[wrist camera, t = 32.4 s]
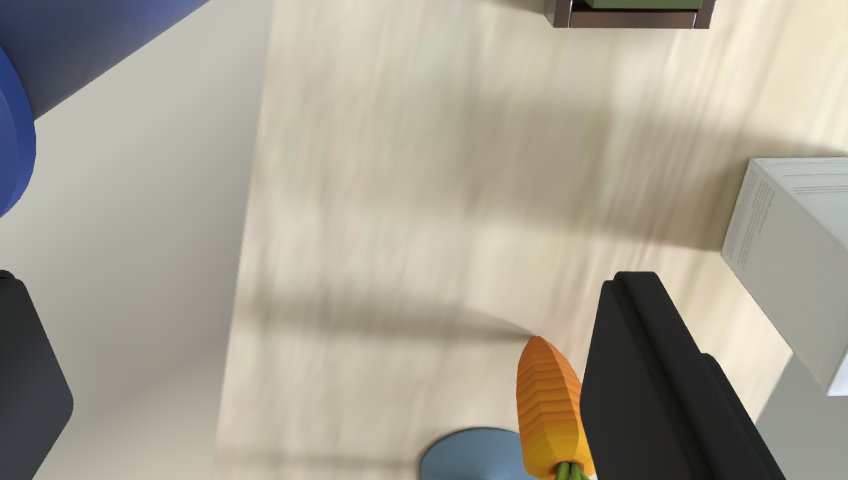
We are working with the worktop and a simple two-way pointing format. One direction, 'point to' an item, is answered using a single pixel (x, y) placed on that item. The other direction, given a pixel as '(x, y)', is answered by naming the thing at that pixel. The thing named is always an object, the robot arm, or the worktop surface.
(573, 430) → the carrot
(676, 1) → the olive green block
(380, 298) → the worktop surface
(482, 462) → the cocktail glass
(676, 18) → the brown divided tray
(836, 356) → the white packaging box
